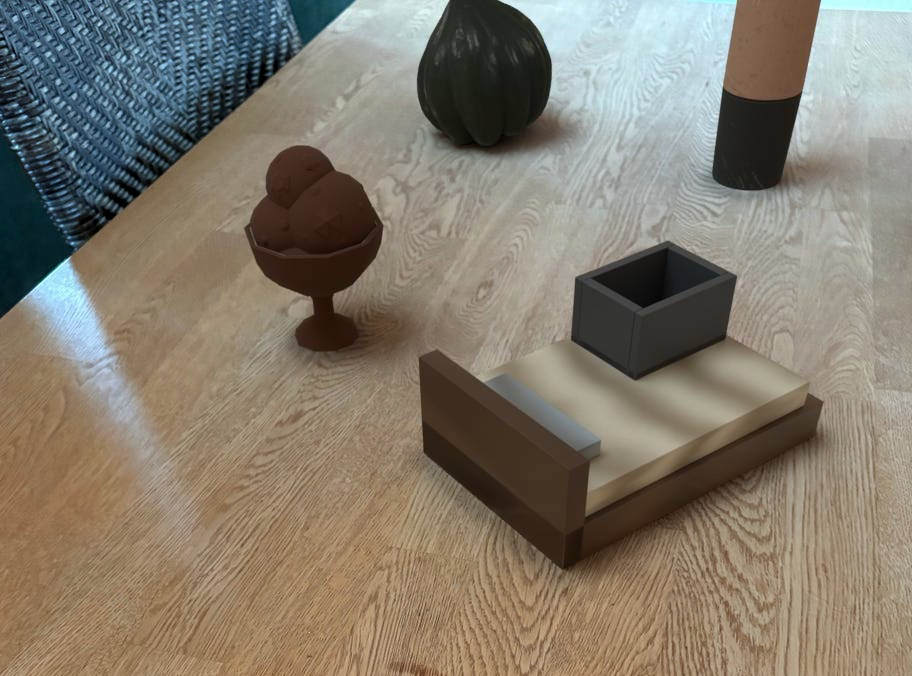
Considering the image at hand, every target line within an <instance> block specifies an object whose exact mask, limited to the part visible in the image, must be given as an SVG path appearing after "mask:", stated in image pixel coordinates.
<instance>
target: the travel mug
mask: <svg viewBox="0 0 912 676" xmlns="http://www.w3.org/2000/svg"><path fill="white" fill-rule="evenodd" d="M821 2H822V0H736V4H735V8H734V9H735V10H734V16H733V21H732V22H733V23H732V28H731V34H730V40H729V46H728V52H727V58H726V64H725V70H724V75H723V81H722V84H723V85H722V88H721V89H722V90H721V96H720V104H719V112H718V119H717V127H716V137H715V142H714V151H713V159H712V167H711V175H712V178H713V180H714V181H716V182H717V183H719V184H721V185H723V186H725V187H728V188H732V189H736V190H745V191H747V190H748V191H752V190H753V191H756V190H763V189H768V188H772V187H774V186H776V185H777V184H779V183H780V181H781V180H782V177H783V174H784V170H785V165H786V162H787V158H788V153H789V149H790V146H791V141H792V137H793V133H794V128H795V124H796V120H797V117H798V112H799V109H800V103H801V100H802V95H803V91H804V88H805V82H806V77H807V72H808V68H809V62H810V59H811V53H812V47H813V43H814V38H815V33H816V28H817V22H818V18H819V13H820V8H821Z"/></svg>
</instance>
